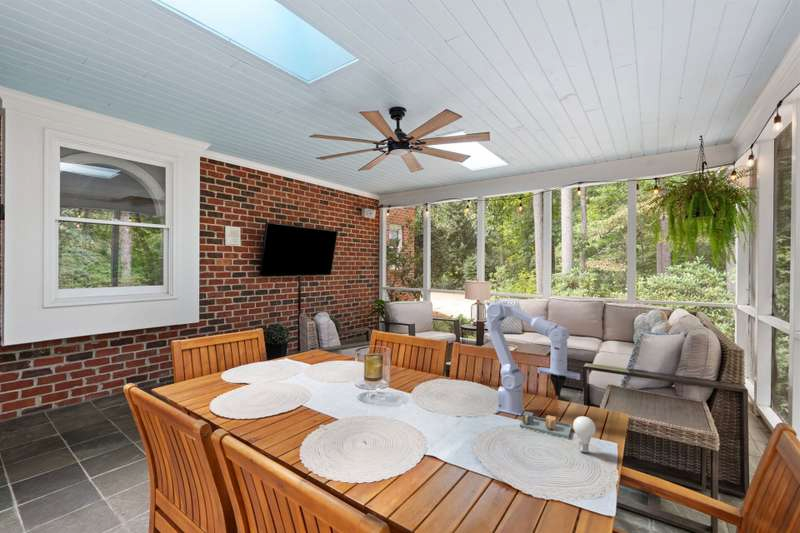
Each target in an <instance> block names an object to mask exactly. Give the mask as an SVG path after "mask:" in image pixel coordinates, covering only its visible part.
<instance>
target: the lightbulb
mask: <svg viewBox="0 0 800 533" xmlns="http://www.w3.org/2000/svg"><path fill="white" fill-rule="evenodd" d="M572 427H573V431H574V432H575V434H576V436H577V440H578V445H579V446H578V450H579V451H580V452H581V453H585V454H586V453H589V446H590V442H591V439H592V438H593V437H594V435H595V433H596V430H597V428H596V425H595V423H594V421H593V420H592V419H591V418H590V417H588V416H584V415H582V416H577V417H576V418H575V419H574V420H573V423H572Z"/></svg>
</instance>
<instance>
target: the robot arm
mask: <svg viewBox="0 0 800 533" xmlns="http://www.w3.org/2000/svg"><path fill="white" fill-rule="evenodd" d="M485 313H486V322H485V323H486V325H485V326H486V328H487V331H488V334H489V337H490V339H491V341H492V344H493V347H494V350H495V352H496V355H497V358H498V361H499V362H500V365H501V369H500V376H501V385H502V386H501V385H500V386H499V387H498V389H497V397H496V398H497V401H496V404H497V407H496V411H498V412H502V413H507V414H511V415H515V416H523V413H524V412H525V409H526V408H524V407H523V396H524V395H523V391H524V390H523V388H524V387H523V385H524V384H525V381H526V375H525V374H524V372H523V371H522V370H521V368H520V366H519V365H518V364H516V363H515V360H514V359H513V354H512V353H511V350H510V347H509V345H508V342H507V340H506V337H505V334H504V332H503V330H502V324H503V322H504V320H505V319H506V318H507V317H514V318H515V319H517V320H519V321H521V322H523V323H526V324H529V325H530V326H531V329H532V330H533V331H535V332H537V333H539V334H541V335H543V336H544V337H547V338H548V339H549V341H550V363H549V364H550V365H549V367H541V366H540V367H539V366H538V367H537V374H539V375H540V374H544V375H550V376H549V379H550V381H551V383H552V386H553V389H554V394H555V397H560V396H561V393H562V392H561V391H562V387H563V386H564V383H566V382H565V381H566V379H567V378H569V379H573V380H577V381H580V380H581V373H578V372H575V371H571V370H568V339H569V338H570V331H569V329H568V328H567V327H565V326H564V325H558V323H557V322H551V321H549V320H548V319H547V318H546V316H540V315H539V316H536V317H535V316H533V315H531V314H530V313H529V312H528V313H527V312H526V311H525V310H524V311H523V310H522V309H520V308H518V307H516V306H515V305H513V304H511V303H508V302H506V301H500V302H492V303H490V304H489V305H488V307H487V308H486V310H485Z"/></svg>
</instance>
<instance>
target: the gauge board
mask: <svg viewBox="0 0 800 533" xmlns="http://www.w3.org/2000/svg"><path fill="white" fill-rule="evenodd" d="M545 424H546V418H543V417H539V416H534V412H531V411H525V410H524V412H523V413H522V421H521V422H520V424H519V428H520V427H521V428H520V429H523V428H526V429H525V430H527V429H530V430H529V431H531V430H534V431H533V432H536V431H539V432H538V433H540V432H543V433H542V434H544V433H547V434H546V435H548V434H552V435H556V436H555V437H557V436H559V437H558V438H561V437H564V438H563V439H565V438H568V439H567V440H570V436H569V435H571V432H572V427H573V424H572V425H571V424H570V423H567V422H562V421H557V420H556V427H555V429H552V428H551V429H549V428H548V427H545ZM552 435H551V436H552Z"/></svg>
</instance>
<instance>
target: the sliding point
mask: <svg viewBox="0 0 800 533" xmlns="http://www.w3.org/2000/svg"><path fill="white" fill-rule="evenodd" d="M545 419H546V424H545V427H548V428H549V429H551V428H552V429H555V427H556V421H557V417H556V416H553V415H549V414H548V415H546V417H545Z"/></svg>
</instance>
